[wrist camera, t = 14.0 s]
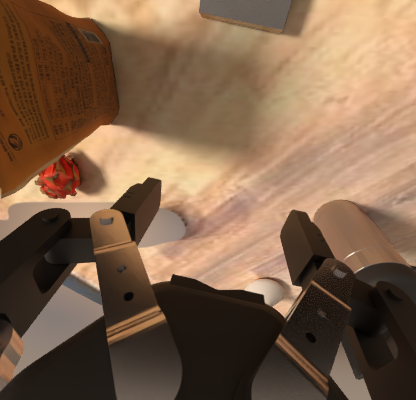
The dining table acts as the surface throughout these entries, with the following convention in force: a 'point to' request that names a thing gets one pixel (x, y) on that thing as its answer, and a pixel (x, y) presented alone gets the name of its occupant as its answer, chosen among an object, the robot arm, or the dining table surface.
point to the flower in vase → (267, 290)
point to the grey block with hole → (248, 13)
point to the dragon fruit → (60, 178)
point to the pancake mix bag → (49, 87)
